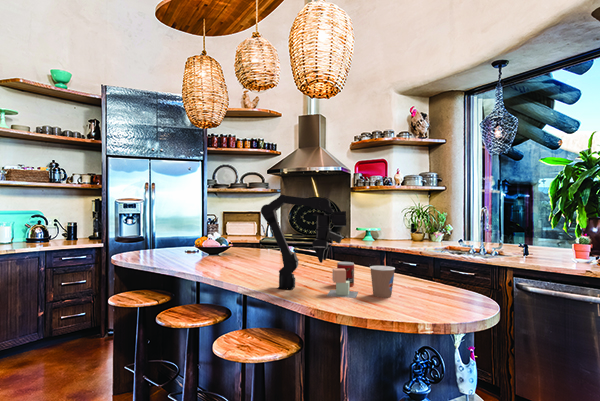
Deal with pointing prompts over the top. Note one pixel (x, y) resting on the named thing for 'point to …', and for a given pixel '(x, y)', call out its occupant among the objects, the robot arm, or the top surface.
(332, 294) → the baseplate
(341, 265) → the canned food
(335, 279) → the pinkish brown cube
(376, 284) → the coffee cup
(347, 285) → the brick green
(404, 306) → the top surface
